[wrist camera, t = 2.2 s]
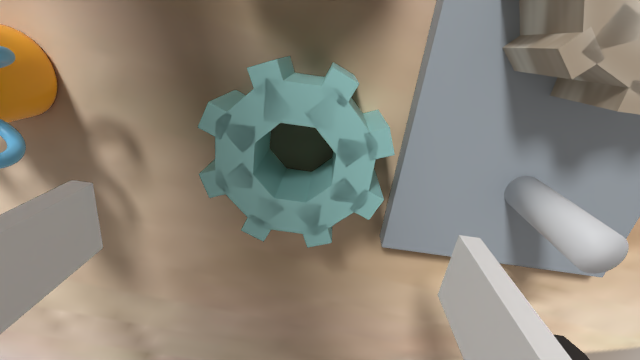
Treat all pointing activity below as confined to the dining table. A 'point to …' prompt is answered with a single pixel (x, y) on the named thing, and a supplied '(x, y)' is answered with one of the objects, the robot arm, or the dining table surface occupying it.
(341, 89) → the gear
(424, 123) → the gear board
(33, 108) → the orange post with rings
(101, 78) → the dining table surface
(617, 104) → the gear
